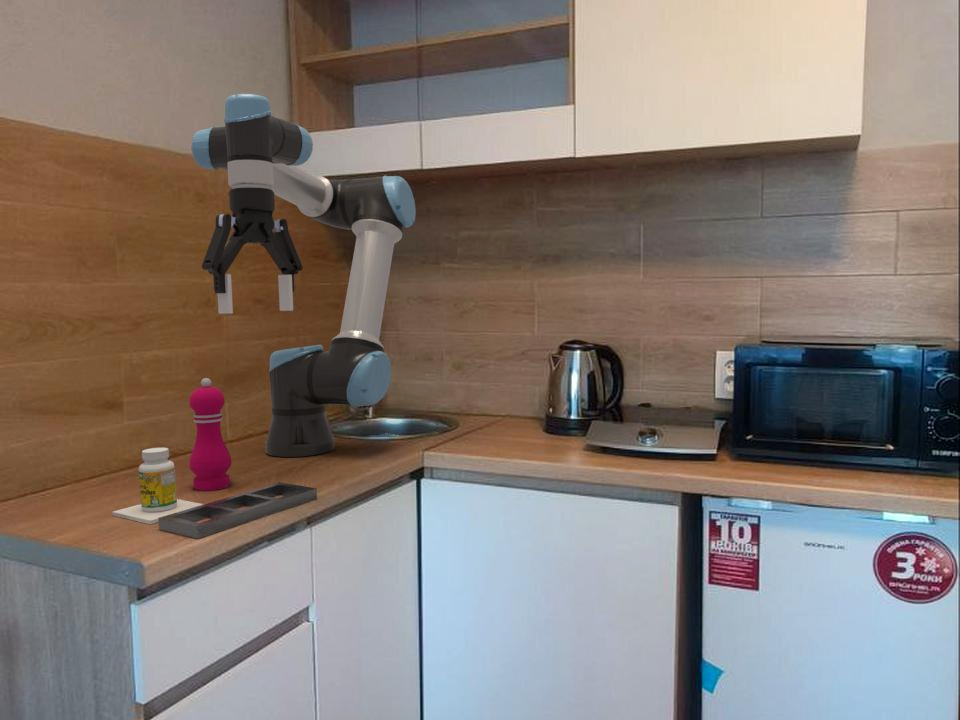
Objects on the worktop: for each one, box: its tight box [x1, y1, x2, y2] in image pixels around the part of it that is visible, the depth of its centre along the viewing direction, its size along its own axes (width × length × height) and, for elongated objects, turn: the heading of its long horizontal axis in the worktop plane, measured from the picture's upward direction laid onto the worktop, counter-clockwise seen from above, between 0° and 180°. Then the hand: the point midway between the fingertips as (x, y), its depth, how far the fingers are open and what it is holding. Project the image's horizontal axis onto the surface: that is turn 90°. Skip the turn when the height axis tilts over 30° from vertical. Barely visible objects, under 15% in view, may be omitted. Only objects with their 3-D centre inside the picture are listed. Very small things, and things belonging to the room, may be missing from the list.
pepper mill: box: [189, 377, 232, 492], centre depth 139 cm, size 7×7×20 cm
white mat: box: [111, 498, 204, 525], centre depth 124 cm, size 10×10×1 cm
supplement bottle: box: [138, 447, 178, 512], centre depth 124 cm, size 5×5×10 cm
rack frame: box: [157, 481, 318, 540], centre depth 122 cm, size 24×9×2 cm, turn 148°
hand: (257, 312), depth 134 cm, fingers open, 13 cm apart
